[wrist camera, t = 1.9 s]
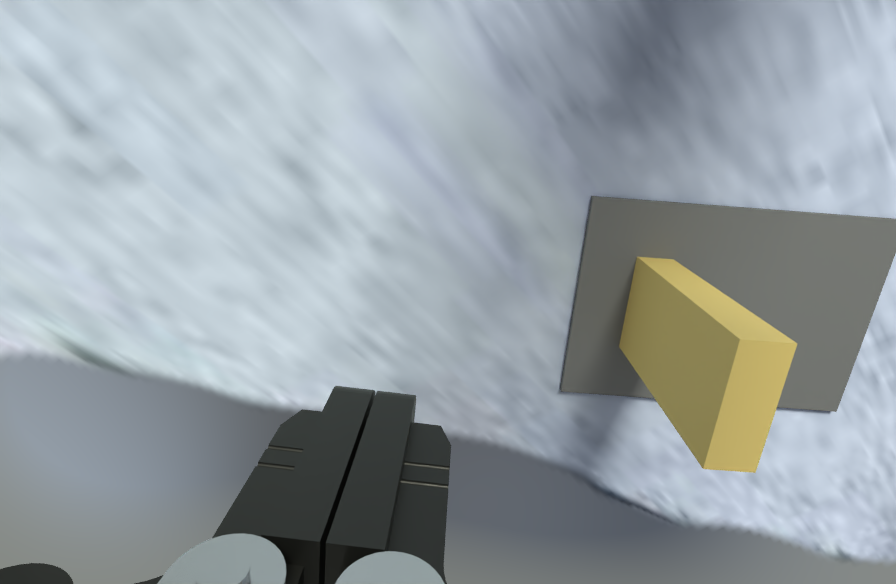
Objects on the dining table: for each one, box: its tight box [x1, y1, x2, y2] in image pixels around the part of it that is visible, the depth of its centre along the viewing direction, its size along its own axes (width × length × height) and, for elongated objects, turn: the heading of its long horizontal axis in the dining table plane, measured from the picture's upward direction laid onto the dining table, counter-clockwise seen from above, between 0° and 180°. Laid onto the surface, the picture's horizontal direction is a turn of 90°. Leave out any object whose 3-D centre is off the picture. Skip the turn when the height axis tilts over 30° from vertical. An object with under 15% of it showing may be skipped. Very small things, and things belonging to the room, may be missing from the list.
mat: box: [560, 196, 896, 412], centre depth 35 cm, size 20×14×1 cm
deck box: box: [619, 257, 797, 473], centre depth 28 cm, size 3×6×13 cm, turn 176°
